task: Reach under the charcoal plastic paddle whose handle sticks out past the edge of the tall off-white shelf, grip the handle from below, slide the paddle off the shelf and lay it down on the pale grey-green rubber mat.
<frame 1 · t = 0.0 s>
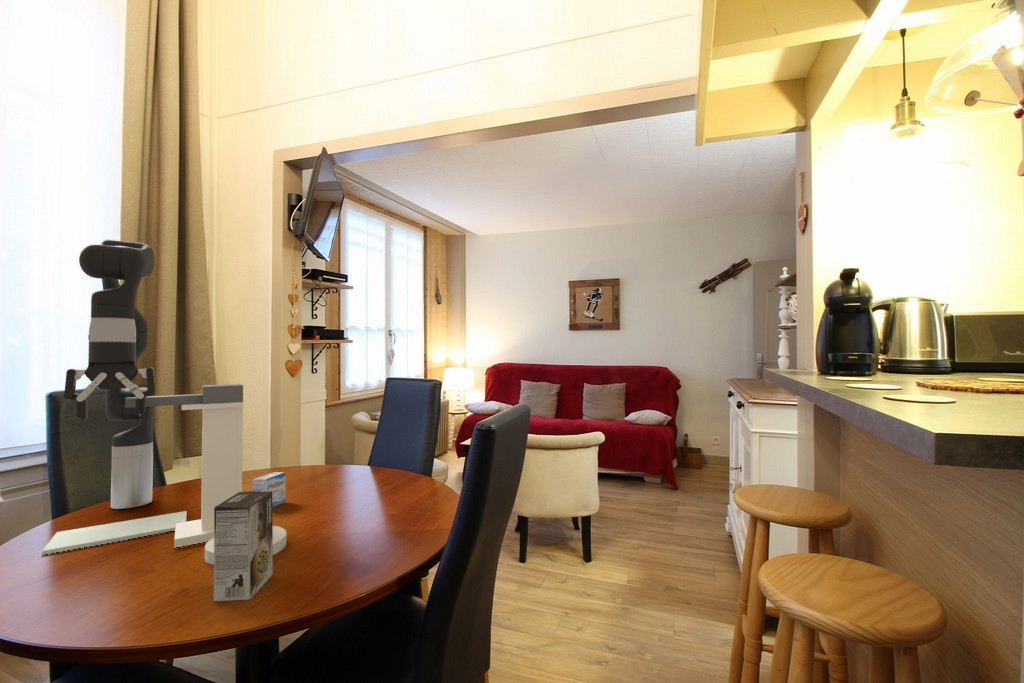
hand: (111, 418, 96), 29 cm above the table, tool pointing down, fingers open, 8 cm apart
roll of tape: (246, 552, 100), on the table
mat: (122, 532, 110), on the table
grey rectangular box: (244, 589, 83), on the table
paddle: (212, 402, 111), point 31 cm above the table, touching shelf stand
medicine box: (269, 507, 129), on the table
shelf stand: (211, 533, 110), on the table
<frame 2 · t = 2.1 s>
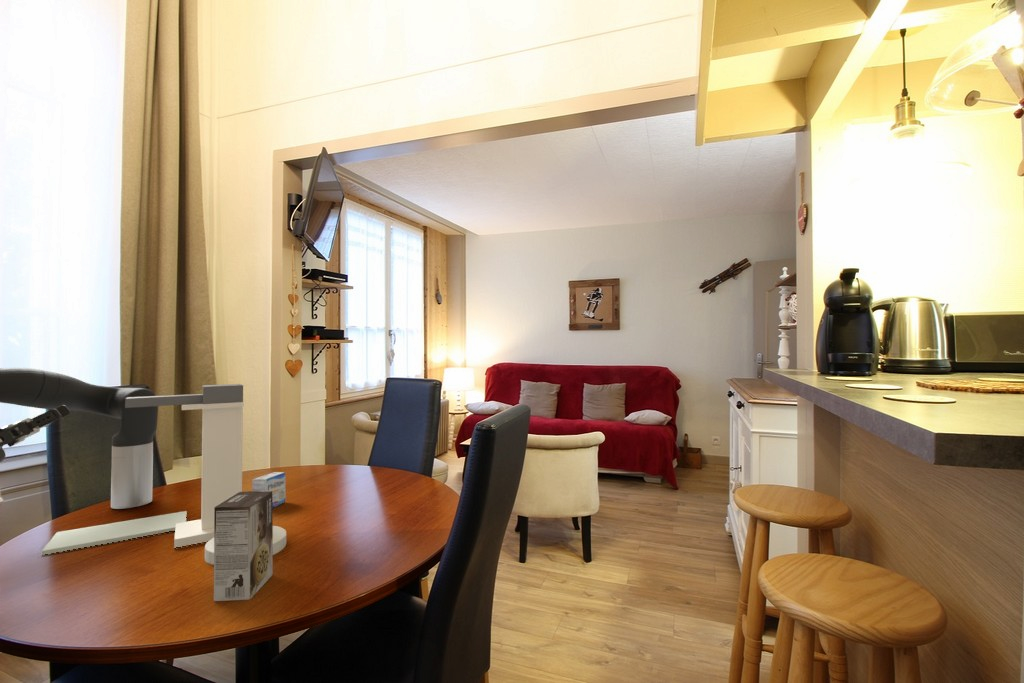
hand: (63, 410, 96), 31 cm above the table, tool pointing upward, fingers open, 8 cm apart
nothing on the table moved.
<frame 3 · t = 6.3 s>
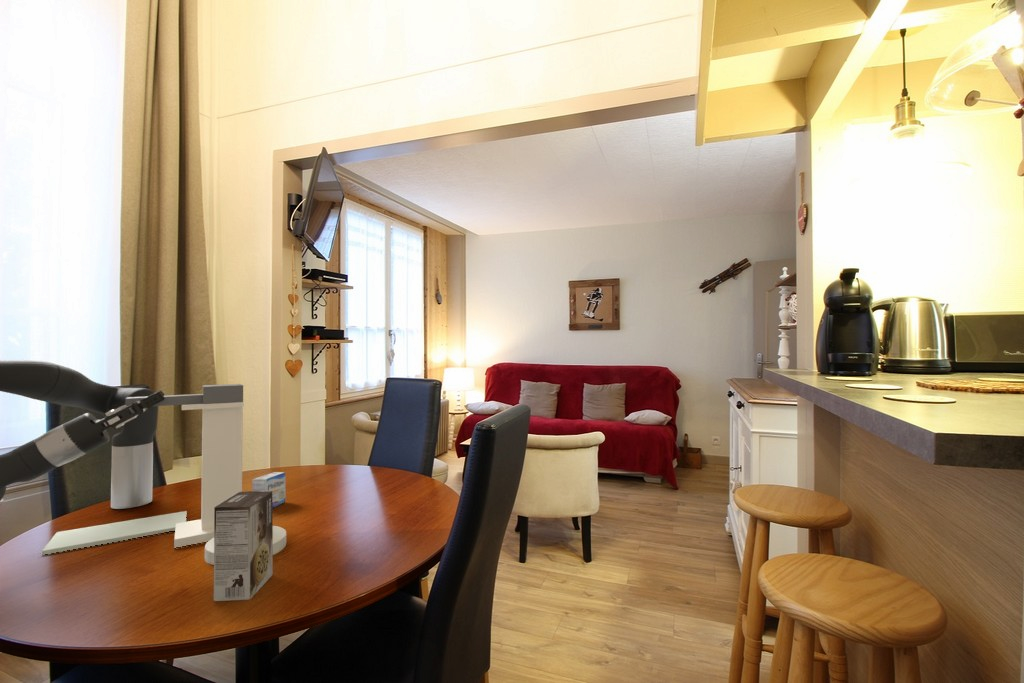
hand: (162, 394, 105), 33 cm above the table, tool pointing upward, fingers closed on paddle, 4 cm apart
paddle: (212, 402, 111), point 31 cm above the table, touching gripper, shelf stand
everything else where it was.
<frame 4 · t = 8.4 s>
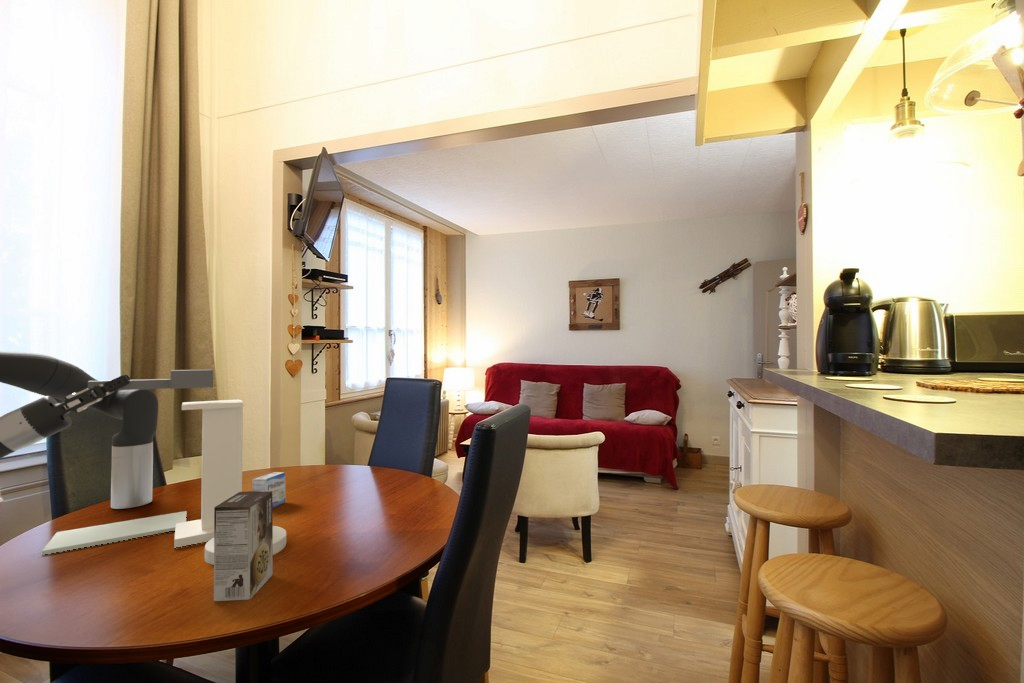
hand: (128, 378, 102), 37 cm above the table, tool pointing upward, fingers closed on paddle, 4 cm apart
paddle: (181, 387, 107), point 35 cm above the table, touching gripper
everything else where it was.
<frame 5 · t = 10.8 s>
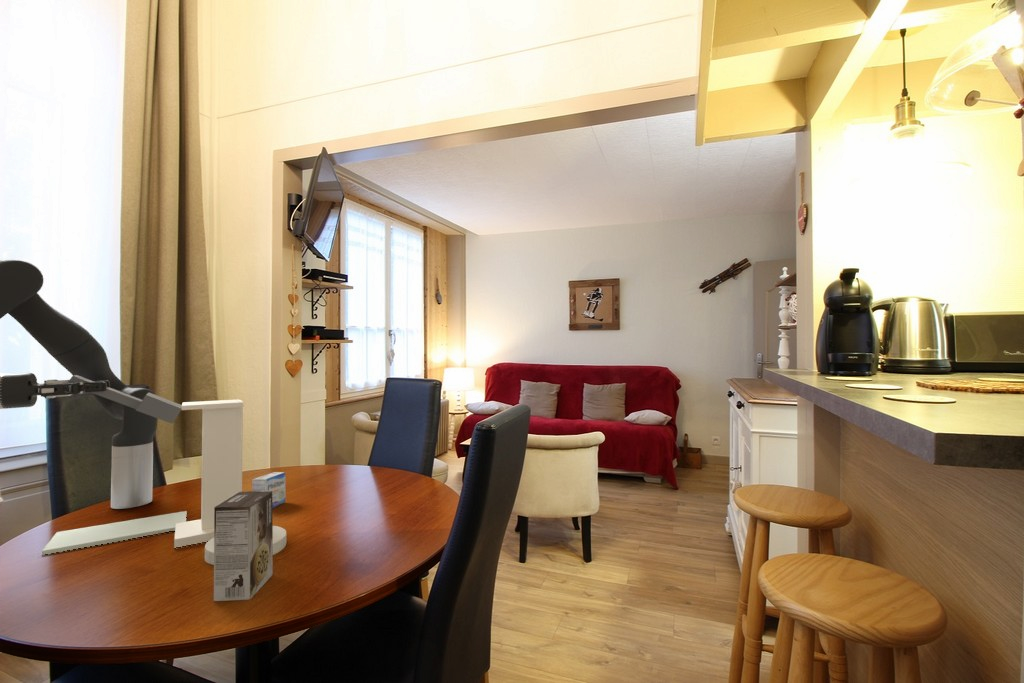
hand: (107, 385, 109), 35 cm above the table, tool horizontal, fingers closed on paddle, 4 cm apart
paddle: (146, 411, 113), point 29 cm above the table, tilted 29°, touching gripper
everything else where it was.
when the fingers open (12 cm above the table, at t = 14.2 s): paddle drops 4 cm, resting on mat.
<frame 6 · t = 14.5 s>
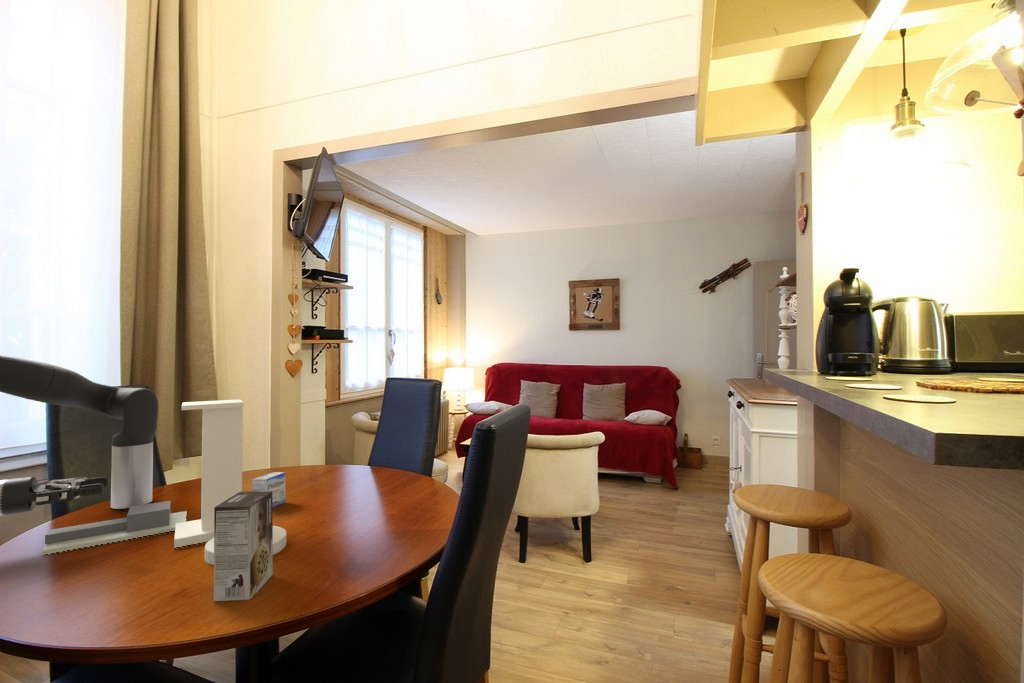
hand: (105, 484, 109), 12 cm above the table, tool horizontal, fingers open, 7 cm apart
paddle: (139, 525, 112), point 1 cm above the table, touching mat
everything else where it was.
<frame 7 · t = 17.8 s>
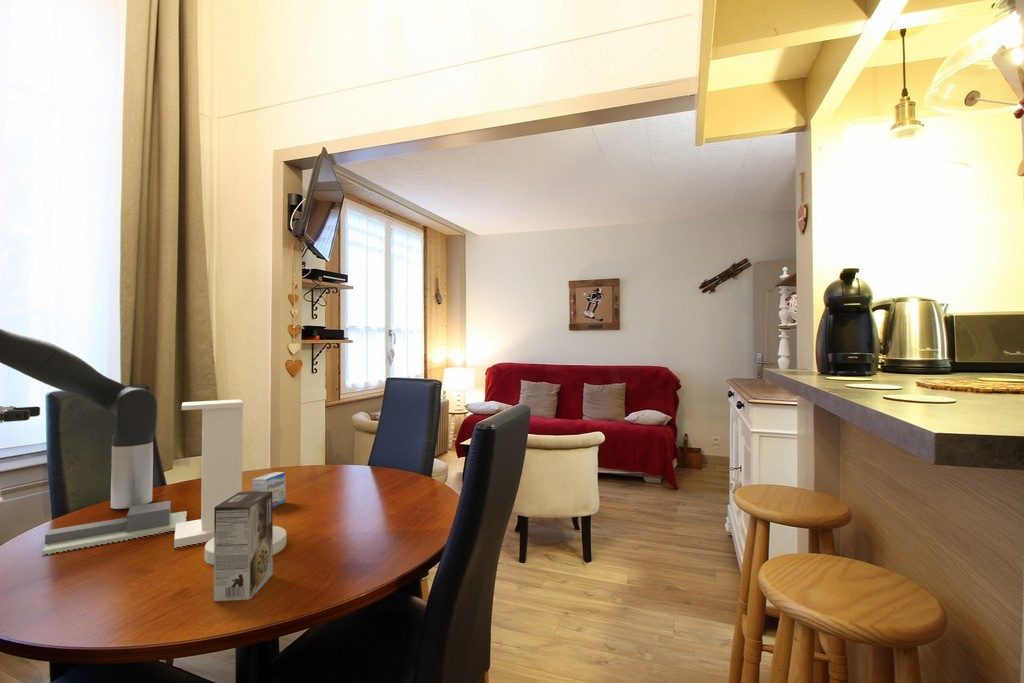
hand: (34, 413, 103), 30 cm above the table, tool horizontal, fingers open, 8 cm apart
nothing on the table moved.
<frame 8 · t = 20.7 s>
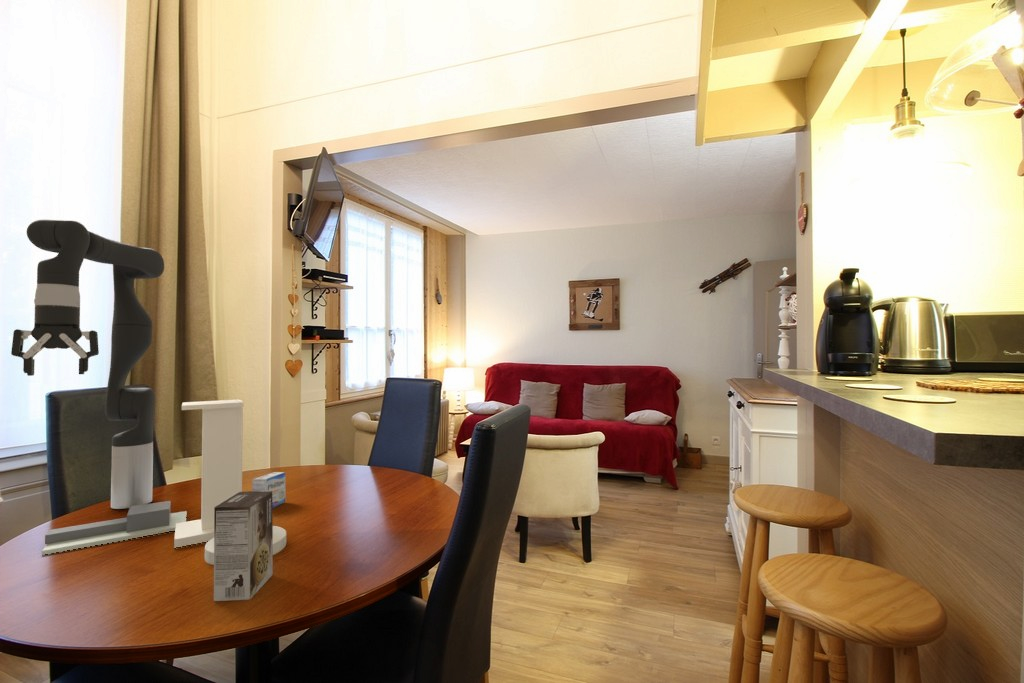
hand: (56, 374, 107), 38 cm above the table, tool pointing down, fingers open, 8 cm apart
nothing on the table moved.
at the end: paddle inside the target area (2.6 cm from its centre), point 1.0 cm above the table; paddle touching mat; the gripper is holding nothing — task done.
